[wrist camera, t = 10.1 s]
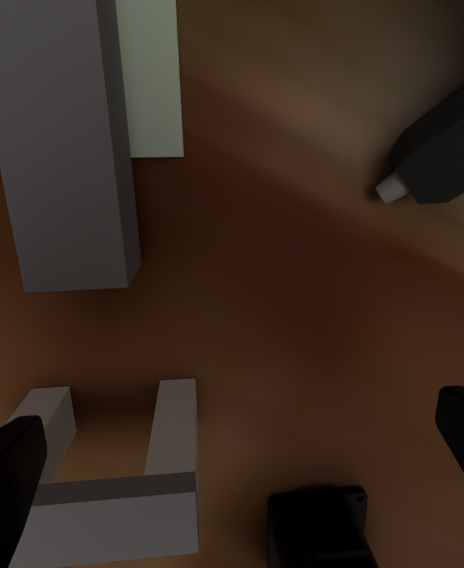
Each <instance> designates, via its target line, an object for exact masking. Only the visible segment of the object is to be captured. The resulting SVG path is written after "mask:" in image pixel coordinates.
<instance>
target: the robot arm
mask: <svg viewBox="0 0 464 568" xmlns="http://www.w3.org/2000/svg"><path fill="white" fill-rule="evenodd" d="M435 421H436V425H437V427H438V429H439V431H440V433H441V435H442V436H443V438H444V440H445V441H446V443H447V445H448V446H449V448H450V450H451V452H452V453H453V455H454V457H455V458H456V460H457V462H458V463H459V465H460V467H461V469H462V470H463V472H464V387H463V386H458V385H457V386H445V387H443V388H441V389H440V391H439V396H438V402H437V408H436V414H435ZM46 458H47V442H46V437H45V432H44V427H43V422H42V419H41V417H40V416H38V415H28V416H19V417H17V418H15V419H13V420H12V421H10V422H9V423H7V424H5V425H4V426H2V427H0V568H8V567H9V565H10V562H11V560H12V558H13V555H14V553H15V551H16V548H17V546H18V543H19V541H20V538H21V536H22V534H23V531H24V528H25V525H26V522H27V519H28V516H29V513H30V510H31V506H32V503H33V500H34V497H35V494H36V490H37V487H38V484H39V481H40V478H41V474H42V471H43V468H44V465H45V462H46ZM367 499H368V497H367V494H366V492H365V490H364V489H363V488H348V489H337V490H326V491H315V492H304V493H293V494H283V495H274V496H272V497H270V498H269V500H268V543H267V566H268V568H379V566H378V564H377V562H376V560H375V558H374V556H373V553H372V551H371V549H370V547H369V545H368V543H367V540H366V538H365V536H364V527H365V517H366V508H367ZM276 503H278V504H276Z"/></svg>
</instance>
